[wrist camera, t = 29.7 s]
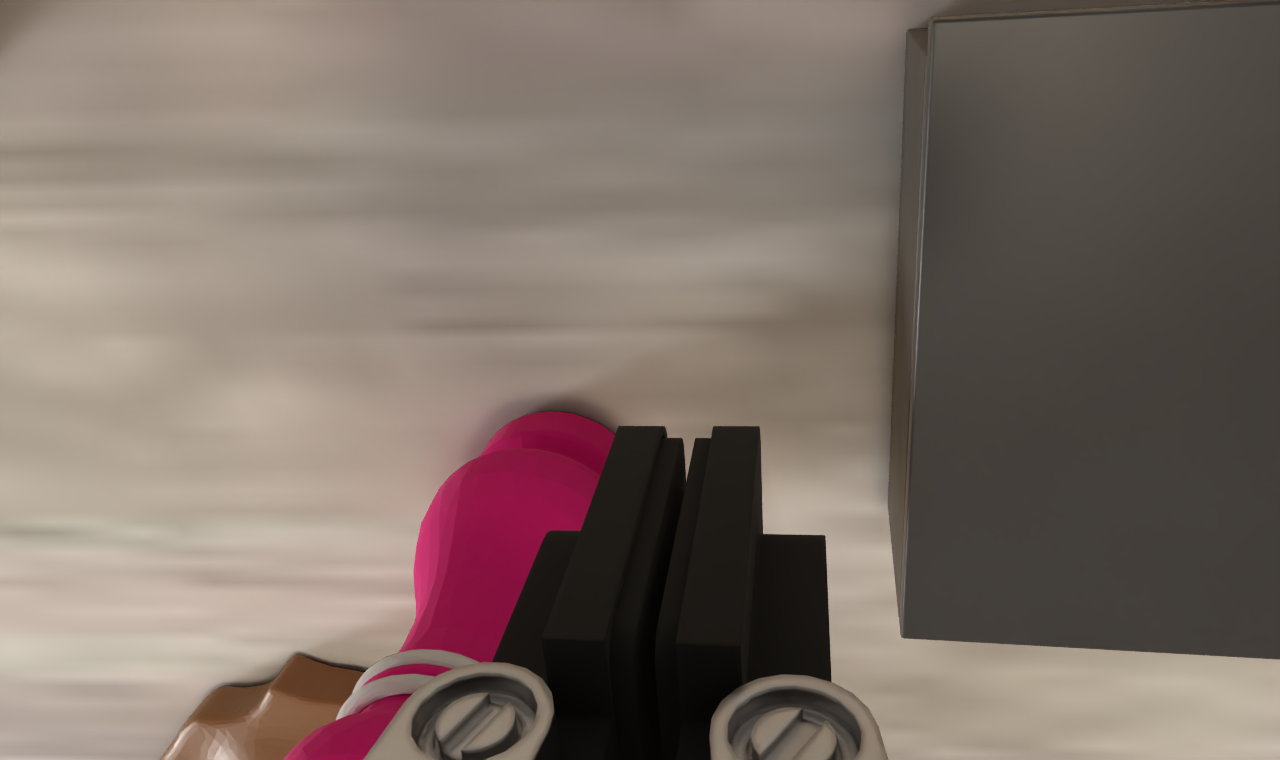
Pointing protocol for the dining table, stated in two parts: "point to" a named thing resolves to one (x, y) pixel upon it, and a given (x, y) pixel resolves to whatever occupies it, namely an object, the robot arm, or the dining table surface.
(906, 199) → the dark grey open box
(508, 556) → the pepper mill
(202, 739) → the plant
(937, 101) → the lid
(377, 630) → the dining table surface
